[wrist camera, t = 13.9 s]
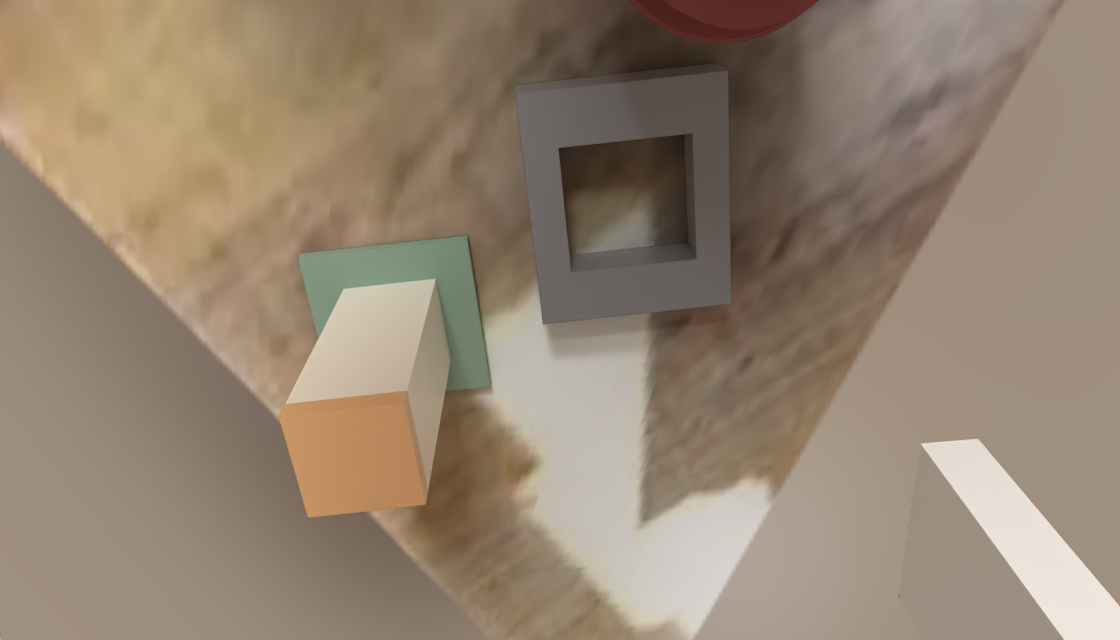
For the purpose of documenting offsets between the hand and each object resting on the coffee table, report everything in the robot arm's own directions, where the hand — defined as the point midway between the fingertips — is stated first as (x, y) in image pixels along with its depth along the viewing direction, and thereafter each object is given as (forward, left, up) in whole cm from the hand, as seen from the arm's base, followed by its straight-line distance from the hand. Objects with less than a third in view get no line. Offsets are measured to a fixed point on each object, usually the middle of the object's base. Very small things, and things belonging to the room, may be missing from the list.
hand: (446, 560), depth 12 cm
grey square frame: (+5, +6, -33) cm, 34 cm away
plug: (+11, -7, -33) cm, 35 cm away
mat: (+11, -7, -33) cm, 36 cm away
